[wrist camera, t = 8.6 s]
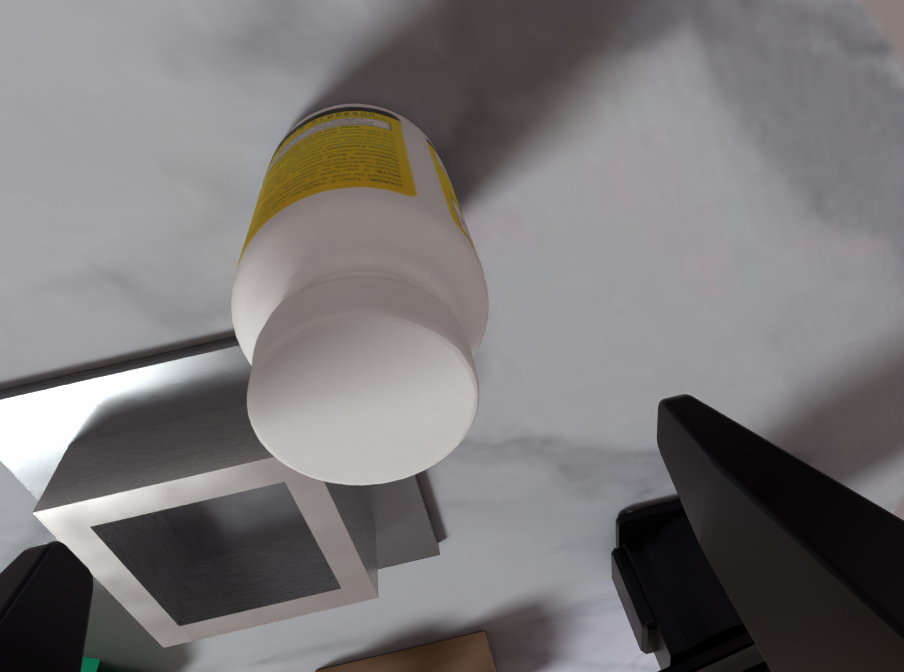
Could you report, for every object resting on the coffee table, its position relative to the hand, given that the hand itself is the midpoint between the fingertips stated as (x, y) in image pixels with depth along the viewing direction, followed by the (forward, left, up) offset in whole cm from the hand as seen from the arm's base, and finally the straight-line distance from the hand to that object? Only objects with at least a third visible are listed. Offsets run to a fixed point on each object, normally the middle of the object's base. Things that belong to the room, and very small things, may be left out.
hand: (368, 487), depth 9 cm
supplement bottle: (0, 0, -12) cm, 12 cm away
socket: (+8, +11, -11) cm, 18 cm away
